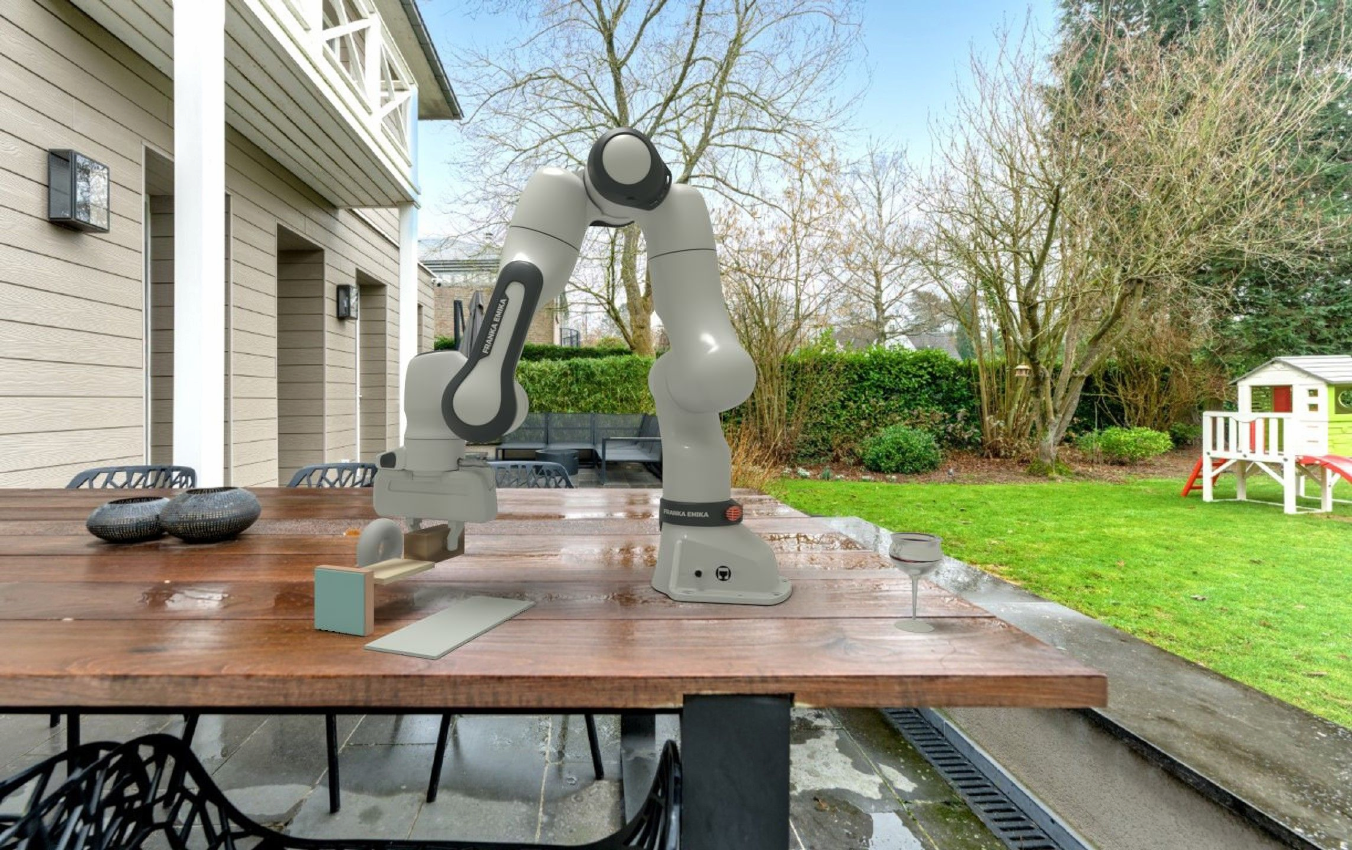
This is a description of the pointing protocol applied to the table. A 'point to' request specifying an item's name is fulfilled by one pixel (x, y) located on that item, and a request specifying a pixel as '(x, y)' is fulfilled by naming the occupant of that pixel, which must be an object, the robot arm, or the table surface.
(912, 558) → the wineglass
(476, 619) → the mat
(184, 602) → the table surface
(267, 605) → the table surface
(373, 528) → the donut
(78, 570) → the table surface
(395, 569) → the stepped slab stack
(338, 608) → the tile
